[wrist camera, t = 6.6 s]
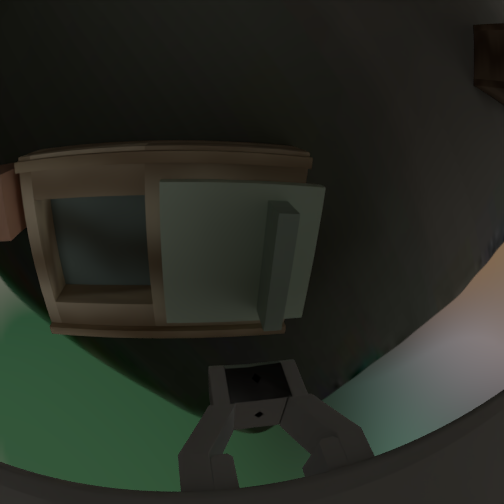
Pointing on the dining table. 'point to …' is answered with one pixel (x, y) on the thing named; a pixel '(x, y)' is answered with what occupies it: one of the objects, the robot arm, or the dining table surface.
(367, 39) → the dining table surface
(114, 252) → the wooden box
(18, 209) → the cube
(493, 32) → the lion stand
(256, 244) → the cover
